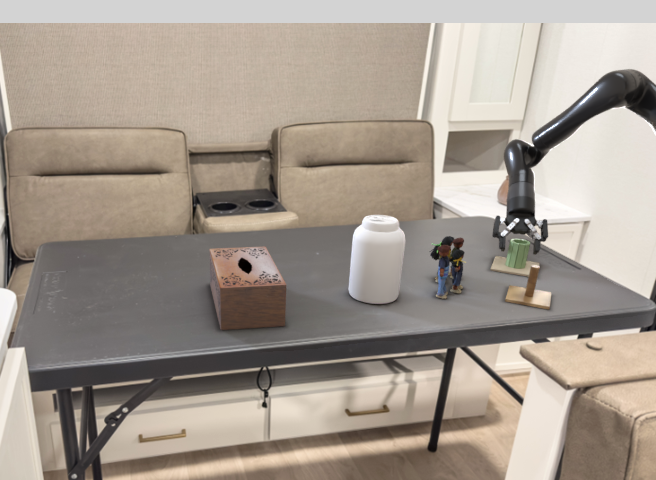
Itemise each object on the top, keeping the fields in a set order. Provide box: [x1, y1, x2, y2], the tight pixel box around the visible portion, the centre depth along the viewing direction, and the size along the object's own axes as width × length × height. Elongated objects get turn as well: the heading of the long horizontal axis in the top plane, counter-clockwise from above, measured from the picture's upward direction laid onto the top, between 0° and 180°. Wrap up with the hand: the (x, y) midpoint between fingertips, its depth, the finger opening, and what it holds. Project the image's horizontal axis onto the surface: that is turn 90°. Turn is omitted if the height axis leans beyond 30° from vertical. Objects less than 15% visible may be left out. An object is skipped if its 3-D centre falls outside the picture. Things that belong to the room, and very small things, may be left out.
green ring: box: [505, 238, 531, 269], centre depth 164 cm, size 5×5×7 cm
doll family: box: [429, 235, 467, 300], centre depth 150 cm, size 23×9×13 cm, turn 170°
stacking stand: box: [504, 265, 552, 311], centre depth 144 cm, size 10×10×9 cm
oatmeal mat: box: [489, 255, 541, 278], centre depth 166 cm, size 12×12×1 cm
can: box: [348, 214, 406, 305], centre depth 142 cm, size 12×12×20 cm
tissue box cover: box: [209, 246, 287, 331], centre depth 138 cm, size 26×14×10 cm, turn 9°
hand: (519, 251), depth 163 cm, fingers open, 8 cm apart
